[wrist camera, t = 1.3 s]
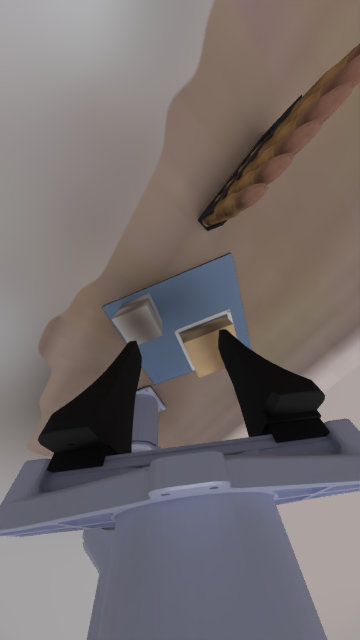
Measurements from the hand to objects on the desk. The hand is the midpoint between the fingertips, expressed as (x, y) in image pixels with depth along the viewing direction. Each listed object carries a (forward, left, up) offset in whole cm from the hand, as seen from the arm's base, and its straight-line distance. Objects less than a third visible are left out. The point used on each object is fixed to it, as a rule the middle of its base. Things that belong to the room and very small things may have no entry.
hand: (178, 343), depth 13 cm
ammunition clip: (+12, +10, -12) cm, 20 cm away
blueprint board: (0, -6, -11) cm, 13 cm away
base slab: (+3, -10, -11) cm, 15 cm away
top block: (-5, 0, -11) cm, 12 cm away
